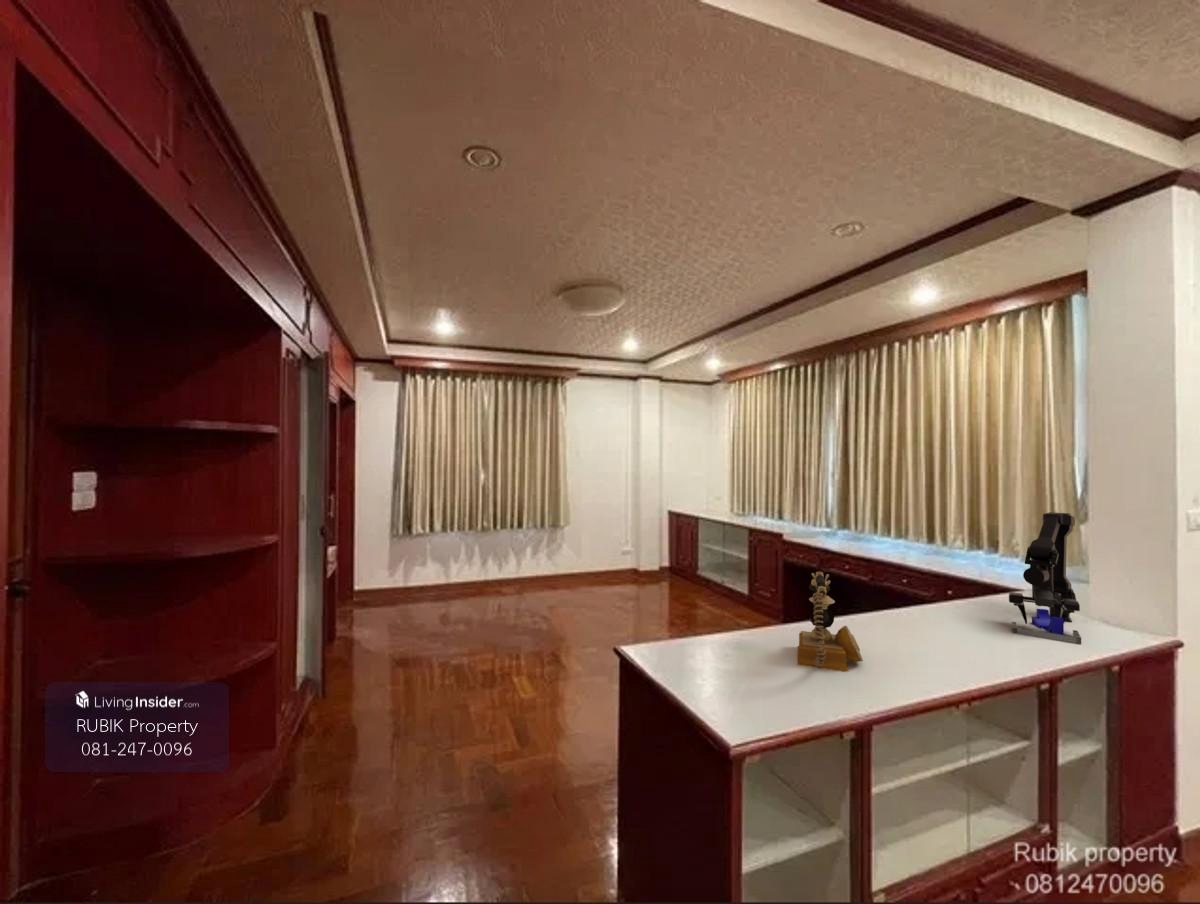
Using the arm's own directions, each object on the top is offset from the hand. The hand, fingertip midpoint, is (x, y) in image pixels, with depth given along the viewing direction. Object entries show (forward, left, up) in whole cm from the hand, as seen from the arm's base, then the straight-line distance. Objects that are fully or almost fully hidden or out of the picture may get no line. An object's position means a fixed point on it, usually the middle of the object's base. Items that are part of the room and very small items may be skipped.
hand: (1043, 626), depth 185 cm
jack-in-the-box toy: (+79, -52, -2) cm, 94 cm away
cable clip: (-2, +1, -2) cm, 3 cm away
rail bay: (+7, 0, -2) cm, 7 cm away
